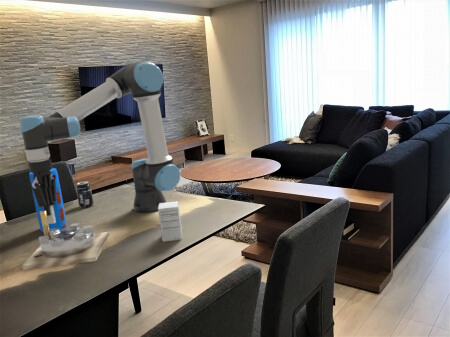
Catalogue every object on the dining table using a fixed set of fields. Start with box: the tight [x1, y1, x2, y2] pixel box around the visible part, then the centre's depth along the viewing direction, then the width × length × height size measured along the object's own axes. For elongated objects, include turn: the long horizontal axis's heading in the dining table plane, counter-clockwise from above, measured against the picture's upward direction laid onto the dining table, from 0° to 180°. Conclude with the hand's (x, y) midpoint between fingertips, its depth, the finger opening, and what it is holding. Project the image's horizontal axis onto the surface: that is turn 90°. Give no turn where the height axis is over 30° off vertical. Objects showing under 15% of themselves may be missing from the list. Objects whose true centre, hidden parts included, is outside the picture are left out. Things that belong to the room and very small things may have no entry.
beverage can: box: [75, 180, 94, 209], centre depth 207 cm, size 7×7×12 cm
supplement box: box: [157, 200, 183, 242], centre depth 154 cm, size 7×7×13 cm
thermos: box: [28, 167, 67, 233], centre depth 177 cm, size 11×11×25 cm
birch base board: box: [21, 231, 110, 271], centre depth 151 cm, size 24×24×2 cm
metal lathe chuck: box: [38, 210, 95, 257], centre depth 150 cm, size 18×18×14 cm
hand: (51, 222), depth 154 cm, fingers closed
